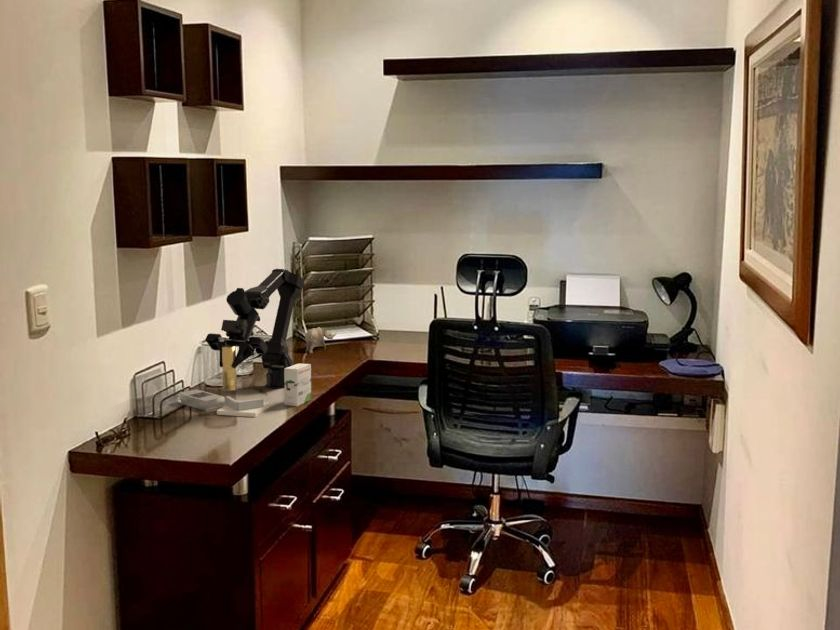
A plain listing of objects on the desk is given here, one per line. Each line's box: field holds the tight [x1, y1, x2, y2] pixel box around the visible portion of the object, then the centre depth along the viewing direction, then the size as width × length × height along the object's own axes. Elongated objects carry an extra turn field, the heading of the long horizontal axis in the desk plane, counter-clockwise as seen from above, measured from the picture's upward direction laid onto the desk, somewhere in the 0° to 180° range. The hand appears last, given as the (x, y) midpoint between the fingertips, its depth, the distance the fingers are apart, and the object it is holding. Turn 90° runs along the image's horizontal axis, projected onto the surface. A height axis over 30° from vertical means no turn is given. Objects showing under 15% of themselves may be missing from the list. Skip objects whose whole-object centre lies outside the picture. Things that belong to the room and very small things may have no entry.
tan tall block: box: [221, 345, 237, 392], centre depth 251 cm, size 4×4×13 cm
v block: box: [216, 395, 270, 418], centre depth 252 cm, size 12×12×4 cm
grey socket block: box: [179, 389, 225, 412], centre depth 258 cm, size 14×7×3 cm, turn 52°
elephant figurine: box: [304, 326, 337, 354], centre depth 344 cm, size 8×14×15 cm
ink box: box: [284, 363, 312, 407], centre depth 261 cm, size 9×5×12 cm, turn 156°
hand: (226, 366), depth 250 cm, fingers closed on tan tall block, 4 cm apart
